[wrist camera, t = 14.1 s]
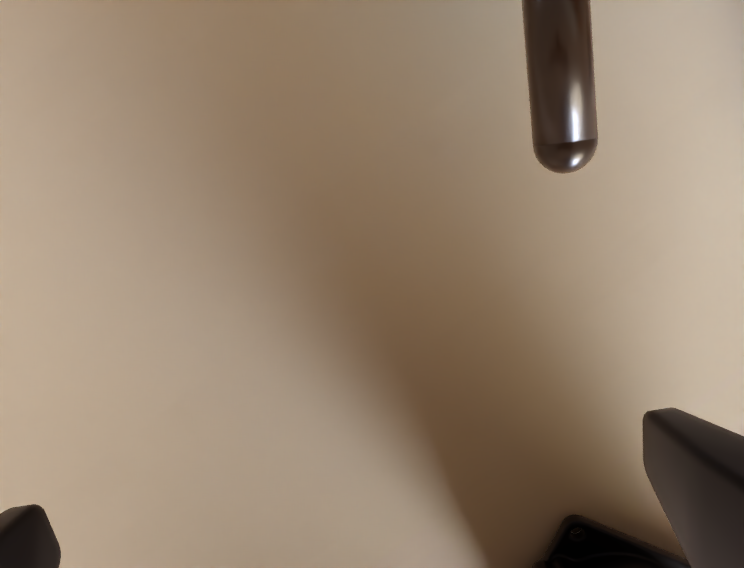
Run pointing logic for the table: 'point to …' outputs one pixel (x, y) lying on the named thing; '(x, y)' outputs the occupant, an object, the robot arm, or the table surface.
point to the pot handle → (561, 82)
